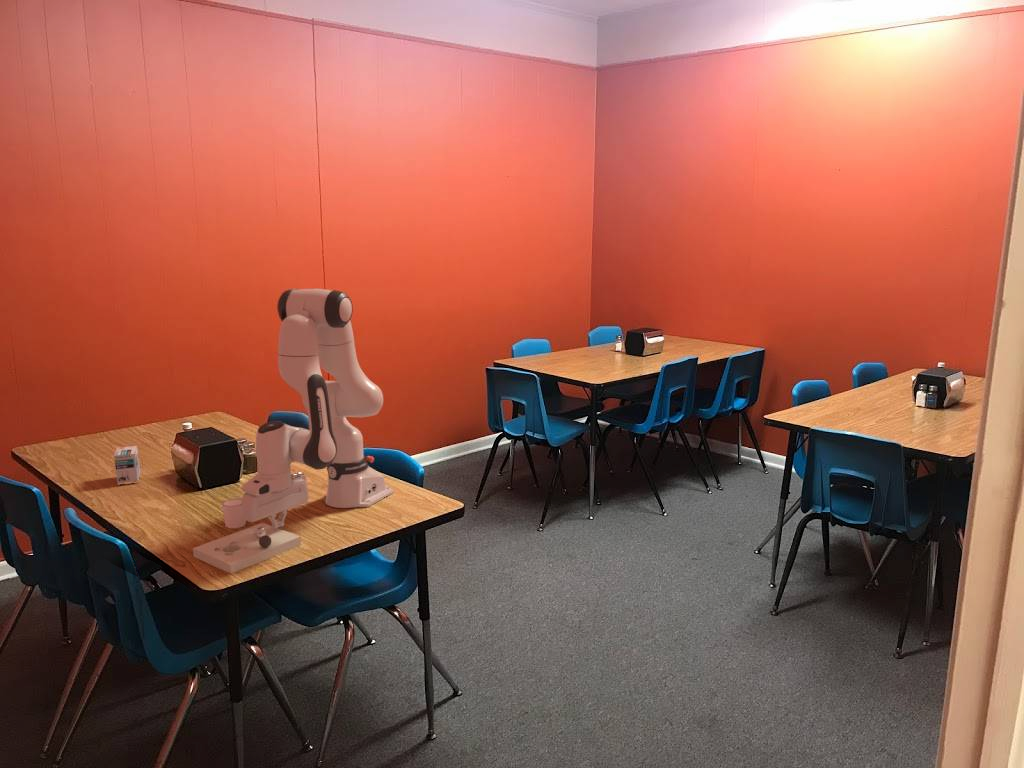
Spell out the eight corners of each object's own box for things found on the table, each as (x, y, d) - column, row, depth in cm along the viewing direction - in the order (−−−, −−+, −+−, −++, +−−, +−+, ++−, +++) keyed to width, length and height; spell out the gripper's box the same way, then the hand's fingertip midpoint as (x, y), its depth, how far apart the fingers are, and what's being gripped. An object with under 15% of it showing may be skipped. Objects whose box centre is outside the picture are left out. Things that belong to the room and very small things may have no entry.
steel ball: (261, 534, 216) (260, 523, 215) (268, 536, 214) (267, 526, 213) (251, 538, 213) (250, 527, 213) (258, 540, 212) (257, 529, 211)
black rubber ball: (266, 543, 210) (266, 532, 209) (274, 546, 208) (273, 535, 207) (256, 547, 207) (255, 536, 207) (264, 550, 206) (263, 539, 205)
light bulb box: (138, 483, 265) (135, 453, 263) (116, 486, 263) (113, 455, 260) (140, 474, 275) (137, 445, 273) (119, 476, 272) (116, 447, 270)
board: (263, 530, 225) (262, 522, 224) (301, 544, 215) (300, 536, 214) (193, 556, 208) (192, 548, 207) (231, 573, 198) (230, 564, 197)
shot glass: (250, 520, 233) (249, 498, 231) (243, 529, 226) (242, 506, 225) (227, 520, 233) (225, 498, 231) (220, 529, 226) (218, 506, 224)
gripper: (297, 468, 225) (300, 513, 228) (236, 487, 209) (240, 535, 212) (312, 472, 222) (314, 517, 225) (250, 492, 206) (254, 541, 209)
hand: (278, 526), depth 218 cm, fingers closed
